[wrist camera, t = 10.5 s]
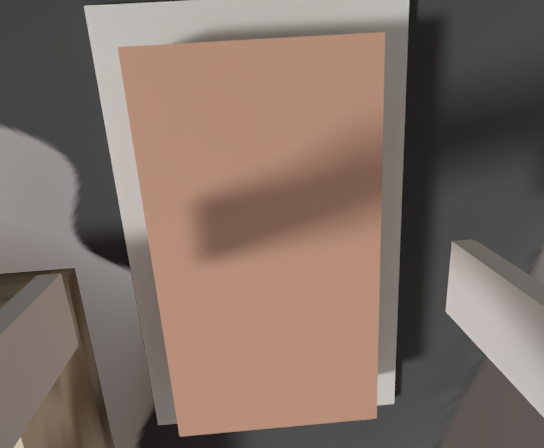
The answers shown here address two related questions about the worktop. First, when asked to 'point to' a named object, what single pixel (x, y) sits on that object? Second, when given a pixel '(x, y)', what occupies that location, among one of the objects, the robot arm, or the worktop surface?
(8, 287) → the birch box
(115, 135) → the grey mat
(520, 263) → the worktop surface
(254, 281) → the peach flat tile
